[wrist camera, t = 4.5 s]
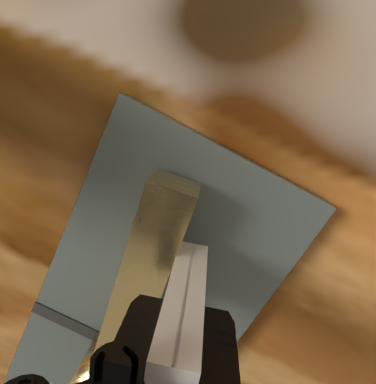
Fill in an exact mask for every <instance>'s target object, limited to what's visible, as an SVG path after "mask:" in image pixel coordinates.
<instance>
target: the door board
mask: <svg viewBox="0 0 376 384" xmlns="http://www.w3.org/2000/svg"><path fill="white" fill-rule="evenodd" d="M158 168H159V169H161V170H164V171H167V172H170V173H173V174H175V175H178V176H181V177H184V178H187V179H189V180H192V181H195V182H198V183H201V186H200V192H199V198H198V201H197V204H196V206H195V209H194V212H193V214H192V217H191V219H190V222H189V225H188V227H187V230H186V233H185V235H184V238H183V242H188V243H194V244H199V245H204V246H208V256H207V274H206V292H205V306H206V307H211V308H216V309H221V310H226V311H229V313H230V315H231V317H232V318H233V320H234V322H235V329H236V340H237V342H238V340H239V339H240V338H241V336H242V335H243V334H244V332H245V331H246V330H247V328H248V327H249V326H250V324H251V323H252V322H253V320H254V319H255V318H256V316H257V315H258V314H259V312H260V311H261V310H262V308H263V307H264V306H265V304H266V303H267V301H268V300H269V299H270V297H271V296H272V295H273V293H274V292H275V291H276V289H277V288H278V287H279V285H280V284H281V283H282V281H283V280H284V279H285V277H286V276H287V275H288V273H289V272H290V271H291V269H292V268H293V267H294V265H295V264H296V263H297V261H298V260H299V259H300V257H301V256H302V255H303V253H304V252H305V251H306V249H307V248H308V246H309V245H310V244H311V242H312V241H313V240H314V238H315V237H316V236H317V234H318V233H319V232H320V230H321V229H322V228H323V226H324V225H325V224H326V222H327V221H328V220H329V218H330V217H331V216H332V214H333V213H334V212H335V210H336V209H337V208H336V207H334V206H333V205H332V204H330V203H329V202H328V201H326V200H324V199H322V198H320V197H319V196H317V195H315V194H313V193H311V192H309V191H307V190H305V189H304V188H302V187H300V186H298V185H296V184H294V183H292V182H290V181H288V180H287V179H285V178H283V177H281V176H279V175H277V174H275V173H273V172H272V171H270V170H268V169H266V168H264V167H262V166H260V165H258V164H257V163H255V162H253V161H251V160H249V159H247V158H245V157H243V156H242V155H240V154H238V153H236V152H234V151H232V150H230V149H228V148H227V147H225V146H223V145H221V144H219V143H217V142H215V141H213V140H211V139H210V138H208V137H206V136H204V135H202V134H200V133H198V132H196V131H195V130H193V129H191V128H189V127H187V126H185V125H183V124H181V123H180V122H178V121H176V120H174V119H172V118H170V117H168V116H166V115H165V114H163V113H161V112H159V111H157V110H155V109H153V108H151V107H150V106H148V105H146V104H144V103H142V102H140V101H138V100H136V99H134V98H133V97H131V96H129V95H127V94H123V93H119V95H118V97H117V100H116V102H115V105H114V107H113V110H112V112H111V115H110V117H109V120H108V122H107V125H106V127H105V130H104V132H103V135H102V138H101V140H100V143H99V145H98V148H97V150H96V153H95V155H94V158H93V160H92V163H91V165H90V168H89V170H88V173H87V175H86V178H85V180H84V183H83V185H82V188H81V190H80V193H79V195H78V198H77V200H76V203H75V205H74V208H73V210H72V213H71V215H70V218H69V220H68V223H67V225H66V228H65V230H64V233H63V235H62V238H61V240H60V243H59V245H58V248H57V250H56V253H55V255H54V258H53V260H52V263H51V265H50V268H49V270H48V273H47V275H46V278H45V280H44V283H43V285H42V288H41V290H40V293H39V295H38V298H37V301H36V302H35V304H34V307H33V309H32V313H31V316H30V318H29V321H28V323H27V326H26V328H25V331H24V333H23V336H22V338H21V341H20V343H19V346H18V348H17V351H16V353H15V356H14V358H13V361H12V363H11V366H10V368H9V371H8V373H7V376H6V378H5V381H4V383H3V384H5V383H6V382H7V381H9V380H11V379H13V378H16V377H18V376H20V375H26V374H36V375H40V376H43V377H44V378H45V379H46V380H47V381H48V382H49V384H69V383H70V382H71V380H72V378H73V376H74V374H75V372H76V370H77V368H78V366H79V365H80V363H81V361H82V359H83V357H84V355H85V353H86V351H87V349H88V348H89V346H90V344H91V342H92V340H93V339H94V338H95V336H97V335H98V334H99V333H100V330H101V327H102V323H103V320H104V317H105V314H106V310H107V307H108V304H109V301H110V297H111V294H112V291H113V288H114V284H115V281H116V278H117V275H118V271H119V268H120V265H121V262H122V258H123V255H124V252H125V248H126V245H127V242H128V239H129V235H130V232H131V229H132V226H133V222H134V219H135V216H136V213H137V209H138V206H139V203H140V200H141V196H142V193H143V190H144V187H145V183H146V180H147V179H148V178H149V177H150V176H151V175H152V174H153V173H154V172H155V171H156V170H157V169H158ZM172 268H173V267H172ZM171 271H172V270H171ZM170 275H171V272H170ZM170 275H169V278H170ZM169 278H168V280H167V283H166V286H165V288H164V291H163V294H162V296H161V298H162V299H164V296H165V293H166V289H167V286H168V282H169Z"/></svg>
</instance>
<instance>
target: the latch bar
mask: <svg viewBox="0 0 376 384" xmlns="http://www.w3.org/2000/svg"><path fill="white" fill-rule="evenodd" d="M200 186H201V183H198V182H195V181H192V180H189V179H187V178H184V177H181V176H178V175H175V174H173V173H170V172H167V171H164V170H161V169H159V168H158V169H157V170H156V171H155V172H154V173H153V174H152V175H151V176H150V177H149V178H148V179H147V180H146V183H145V187H144V190H143V193H142V196H141V200H140V203H139V206H138V209H137V213H136V216H135V219H134V222H133V226H132V229H131V232H130V235H129V239H128V242H127V245H126V248H125V252H124V255H123V258H122V262H121V265H120V268H119V271H118V275H117V278H116V281H115V284H114V288H113V291H112V294H111V297H110V301H109V304H108V307H107V310H106V314H105V317H104V320H103V323H102V327H101V330H100V333H99V334H98V335H97V336H95V338H94V339H93V340H92V342H91V344H90V346H89V348H88V349H87V351H86V353H85V355H84V357H83V359H82V361H81V363H80V365H79V366H78V368H77V370H76V372H75V374H74V376H73V378H72V380H71V382H70V383H69V384H75V383H79V382H82V381H84V380H86V379H88V378H89V370H90V357H91V356H92V355H93V353H94V352H95V351H96V350H97V349H98V348H99V347H101V346H102V345H104V344H105V343H109V342H112V341H114V339H115V337H116V334H117V332H118V330H119V328H120V325H121V324H122V321H123V319H124V317H125V315H126V312H127V310H128V308H129V305H130V303H131V302H132V301H133V300H134V299H135V298H136V297H138V296H139V295H140V294H142V295H147V296H152V297H157V298H161V296H162V294H163V291H164V288H165V286H166V283H167V280H168V278H169V275H170V272H171V270H172V267H173V264H174V261H175V257H176V256H177V254H178V251H179V249H180V246H181V243H182V241H183V238H184V235H185V233H186V230H187V227H188V225H189V222H190V219H191V217H192V214H193V212H194V209H195V206H196V204H197V201H198V198H199V192H200Z"/></svg>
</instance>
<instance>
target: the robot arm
mask: <svg viewBox="0 0 376 384" xmlns="http://www.w3.org/2000/svg"><path fill="white" fill-rule="evenodd" d="M207 256H208V246H204V245H199V244H194V243H188V242H183V241H182V243H181V246H180V249H179V251H178V254H177V256H176V257H175V261H174V264H173V268H172V271H171V275H170V278H169V282H168V286H167V289H166V293H165V296H164V299H162V298H157V297H152V296H147V295H142V294H140V295H139V296H138V297H136V298H135V299H134V300H133V301H132V302H131V303H130V305H129V308H128V310H127V312H126V315H125V317H124V319H123V321H122V324H121V325H120V328H119V330H118V332H117V334H116V337H115V339H114V341H112V342H109V343H105V344H104V345H102V346H101V347H99V348H98V349H97V350H96V351H95V352H94V353H93V355H92V356H91V357H90V370H89V378H88V379H86V380H84V381H82V382H79V383H75V384H241V383H240V373H239V362H238V351H237V340H236V329H235V322H234V320H233V318H232V317H231V315H230V313H229V311H226V310H221V309H216V308H211V307H206V306H205V292H206V274H207ZM5 384H49V382H48V381H47V380H46V379H45V378H44V377H43V376H40V375H36V374H26V375H20V376H18V377H16V378H13V379H11V380H9V381H7V382H6V383H5Z"/></svg>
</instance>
